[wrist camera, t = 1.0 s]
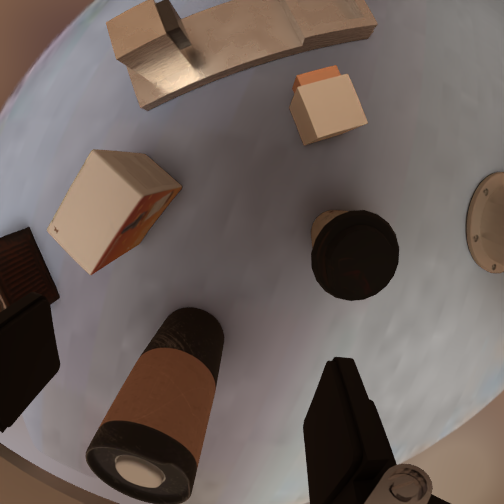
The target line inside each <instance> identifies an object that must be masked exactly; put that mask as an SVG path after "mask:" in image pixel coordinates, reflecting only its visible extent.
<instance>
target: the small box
mask: <svg viewBox="0 0 504 504" xmlns="http://www.w3.org/2000/svg"><path fill="white" fill-rule="evenodd" d="M181 189H182V186H181V185H180V184H179V183H178V182H177V181H176V180H174V179H173V178H172V177H171V176H170V175H169V174H168V173H167V172H165V171H164V170H163V169H162V168H161V167H160V166H158V165H157V164H156V163H155V162H154V161H153V160H152V159H150V158H149V157H148V156H147V155H146V154H141V153H132V152H121V151H109V150H95V149H93V150H92V151H91V152H90V154H89V156H88V158H87V159H86V161H85V163H84V165H83V166H82V168H81V170H80V171H79V173H78V175H77V176H76V178H75V180H74V182H73V183H72V185H71V187H70V189H69V190H68V192H67V194H66V196H65V198H64V199H63V201H62V203H61V205H60V207H59V209H58V210H57V212H56V214H55V216H54V218H53V220H52V221H51V223H50V225H49V226H48V228H47V231H48V233H49V234H50V235H51V236H52V237H53V238H54V239H55V240H56V241H57V242H58V243H59V244H60V246H61V247H62V248H63V249H64V250H65V251H66V252H67V253H68V254H69V255H70V256H71V257H72V258H73V259H74V260H75V261H76V262H77V263H78V264H79V265H80V266H81V267H82V268H83V269H84V270H85V271H86V272H87V273H88V274H90V275H92V274H94V273H95V272H97V271H98V270H100V269H101V268H103V267H104V266H106V265H107V264H109V263H110V262H112V261H113V260H115V259H117V258H118V257H120V256H121V255H123V254H124V253H126V252H128V251H129V250H131V249H132V248H134V247H135V246H137V245H139V244H140V242H141V241H142V239H143V238H144V236H145V235H146V234H147V232H148V231H149V229H150V228H151V227H152V225H153V224H154V223H155V221H156V220H157V219H158V217H159V216H160V215H161V214H162V212H163V211H164V210H165V209H166V207H167V206H168V205H169V203H170V202H171V201H172V200H173V198H174V197H175V196H176V195H177V193H178V192H179V191H180V190H181Z"/></svg>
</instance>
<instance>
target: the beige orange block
mask: <svg viewBox="0 0 504 504" xmlns="http://www.w3.org/2000/svg"><path fill="white" fill-rule="evenodd" d="M292 89H293V92H294V97H293V99H292V102H291V104H290V107H289V109H290V112H291V114H292V117H293V119H294V122H295V124H296V127H297V129H298V132H299V134H300V137H301V140H302V142H303V145H304V146H305V145H308V144H311V143H314V142H317V141H321V140H324V139H327V138H330V137H333V136H337V135H340V134H343V133H345V132H348V131H350V130H353V129H355V128H358V127H360V126H363V125H365V124H368V122H367V120H366V117H365V114H364V112H363V109H362V107H361V104H360V101H359V99H358V97H357V94H356V92H355V89H354V87H353V84H352V82H351V80H350V78H349V75H348V74H345V75H340V72H339V70H338V68H337V66H336V65H335V66H331V67H327V68H323V69H319V70H315V71H311V72H307V73H304V74H300V75H297V76H296V79H295V82H294V85H293V88H292Z"/></svg>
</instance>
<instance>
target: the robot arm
mask: <svg viewBox="0 0 504 504" xmlns="http://www.w3.org/2000/svg"><path fill="white" fill-rule="evenodd" d="M466 232H467V242H468V246H469V250H470V252H471V255H472V257H473V259H474V260H475V262H476V263H477V264H478V265H479V266H480V267H481V268H483V269H484V270H486V271H488V272H490V273H501V272H504V172H496V173H494V174H491V175H489V176H488V177H487V178H485V179H484V180H483V181H482V182H481V184H480V185H479V186H478V188H477V190H476V191H475V193H474V195H473V198H472V200H471V203H470V207H469V210H468V217H467V230H466ZM59 368H60V360H59V355H58V350H57V345H56V340H55V334H54V328H53V322H52V315H51V307H50V303H49V302H48V300H47V298H46V297H45V296H44V295H41V294H38V293H35V292H30V293H28V294H27V295H25V296H24V297H22V298H21V299H19V300H18V301H16V302H15V303H13V304H12V305H10V306H9V307H7V308H6V309H4V310H3V311H1V312H0V431H1V432H2V433H3V432H4V430H5V429H6V428H7V427H10V426H11V425H12V424H13V423H14V422H15V421H16V420H17V418H18V417H19V416H20V415H21V414H22V412H23V411H24V410H25V409H26V408H27V407H28V405H29V404H30V403H31V402H32V401H33V399H34V398H35V397H36V396H37V395H38V394H39V392H40V391H41V390H42V389H43V388H44V387H45V386H46V384H47V383H48V382H49V381H50V380H51V379H52V378H53V377H54V375H55V374H56V373H57V372H58V371H59ZM303 432H304V442H305V452H306V463H307V474H308V485H309V497H310V504H450V503H448V502H446V501H444V500H442V499H440V498H438V497H436V496H434V495H432V494H431V493H432V489H433V488H432V481H431V480H430V477H429V476H428V475H427V473H425V472H424V470H422V469H420V468H419V467H417V466H414V465H411V464H399V465H397V464H396V461H395V458H394V455H393V453H392V450H391V447H390V444H389V441H388V438H387V436H386V433H385V430H384V428H383V425H382V422H381V419H380V417H379V414H378V412H377V409H376V406H375V404H374V402H373V401H372V400H369V398H368V395H367V393H366V390H365V387H364V385H363V382H362V380H361V377H360V374H359V372H358V369H357V367H356V364H355V362H354V360H353V359H352V358H343V357H334V358H333V360H332V361H327V363H326V365H325V368H324V371H323V373H322V376H321V379H320V381H319V384H318V387H317V389H316V392H315V395H314V397H313V400H312V402H311V405H310V407H309V410H308V412H307V415H306V417H305V420H304V425H303ZM0 504H119V503H116V502H113V501H111V500H108V499H106V498H103V497H101V496H98V495H96V494H93V493H91V492H88V491H86V490H84V489H82V488H79V487H77V486H75V485H73V484H71V483H68V482H67V481H64V480H63V479H61V478H58V477H56V476H55V475H52V474H51V473H49V472H47V471H45V470H43V469H41V468H40V467H38V466H36V465H35V464H32V463H31V462H29V461H28V460H26V459H24V458H23V457H21V456H20V455H18V454H16V453H15V452H13V451H12V450H10V449H8V448H7V447H6V446H4V445H3V444H1V443H0Z"/></svg>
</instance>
